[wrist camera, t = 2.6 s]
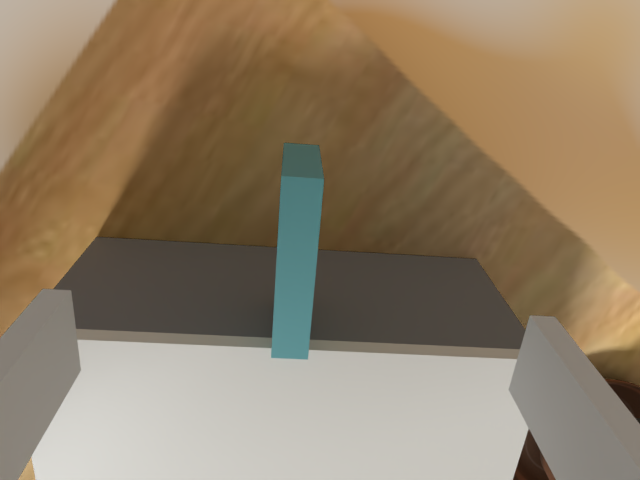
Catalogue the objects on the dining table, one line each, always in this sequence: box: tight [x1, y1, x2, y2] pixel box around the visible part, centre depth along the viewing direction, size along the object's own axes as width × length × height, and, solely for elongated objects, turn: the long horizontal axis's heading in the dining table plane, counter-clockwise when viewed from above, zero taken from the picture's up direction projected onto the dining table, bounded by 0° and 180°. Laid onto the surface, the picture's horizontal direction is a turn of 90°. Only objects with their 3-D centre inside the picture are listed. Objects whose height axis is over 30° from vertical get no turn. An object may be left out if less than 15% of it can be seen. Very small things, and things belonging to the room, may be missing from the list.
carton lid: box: [32, 143, 529, 480], centre depth 27 cm, size 24×25×5 cm
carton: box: [54, 237, 525, 349], centre depth 33 cm, size 24×16×10 cm, turn 85°
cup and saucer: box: [513, 379, 640, 480], centre depth 39 cm, size 12×12×6 cm
